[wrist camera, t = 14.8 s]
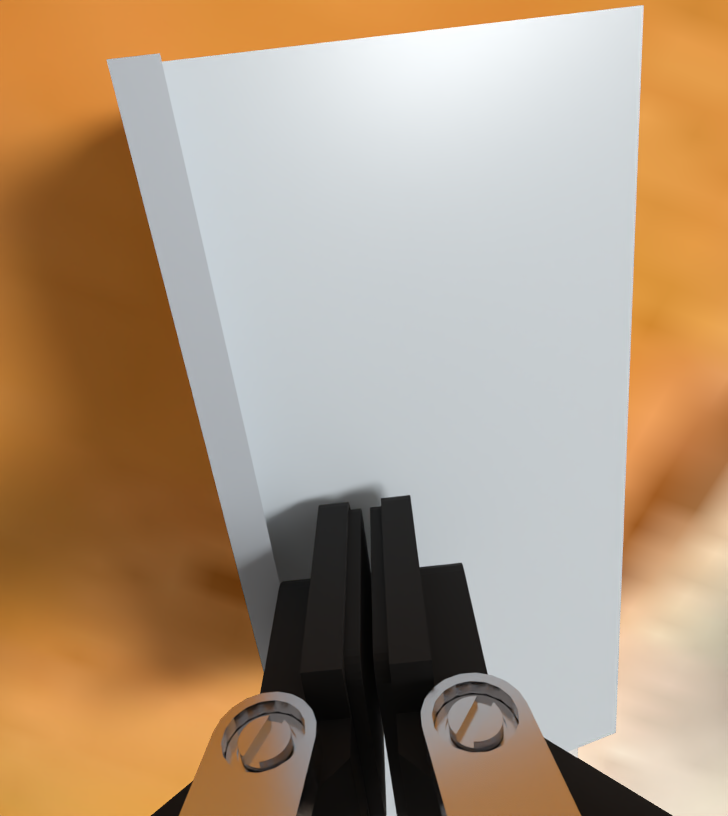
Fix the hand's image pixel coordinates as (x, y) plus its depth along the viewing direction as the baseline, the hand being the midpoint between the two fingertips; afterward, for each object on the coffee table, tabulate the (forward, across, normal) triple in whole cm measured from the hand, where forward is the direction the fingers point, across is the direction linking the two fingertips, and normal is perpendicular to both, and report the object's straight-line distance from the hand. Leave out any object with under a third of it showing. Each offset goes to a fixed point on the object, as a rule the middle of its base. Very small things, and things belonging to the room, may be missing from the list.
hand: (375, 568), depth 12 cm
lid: (+2, -1, 0) cm, 2 cm away
